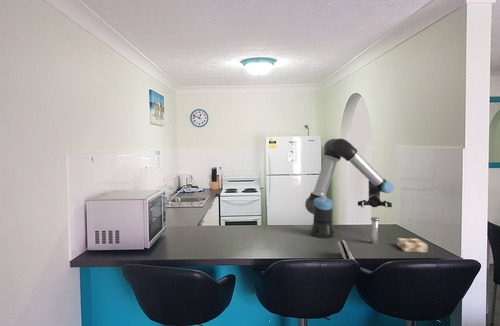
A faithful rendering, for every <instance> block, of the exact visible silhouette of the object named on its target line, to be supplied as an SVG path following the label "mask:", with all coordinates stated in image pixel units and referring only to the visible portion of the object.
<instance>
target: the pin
mask: <svg viewBox="0 0 500 326" xmlns="http://www.w3.org/2000/svg"><path fill="white" fill-rule="evenodd" d="M370 221H371V240H370V241H371V242H370V243H371V244H373V245H378V242H379V241H378V240H379V221H380V218H379V217H373V216H372V217H371V218H370Z"/></svg>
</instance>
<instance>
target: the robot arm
mask: <svg viewBox="0 0 500 326" xmlns="http://www.w3.org/2000/svg"><path fill="white" fill-rule="evenodd" d="M323 151H324V153H323V157H324V159H323V161H322V162H323V163H322V166H321V169H320V171H319V174H318V177H317V180H316V183H315V187H314V189H313V191H312V192H310V195H309V197H307V198H306V199H305V203H304V206H305V209H306V211H307V212H308V213H310V214H312V215H313V223H312V226H311V229H310V236H313V237H316V238H320V239H321V238H323V239H325V238H326V239H327V238H334V237H335V230H334V225H333V200H331V199H330V198H328V197H327V193H328V190H329V187H330V183H331V181H332V178H333V175H334V172H335V169H336V166H337V163H338V162H339V161H341V158H342V159H344V160H345V161H346V162H350V163H351V164H352V166H353V167H355V168H356V169H357V170H358V171H359V172H360V173H361V174H362V175H364V177H365V178H366V179H367V180H368V197H367V198H368V200H366V199H363V200H359V201H357V206H360V208H362V209H364V207H365V206H370V207H371V208H377V207H385V210H388V208H392V205H393V204H392V202H390V201H387V200H383V201H382V200H381V193H384V194H385V193H386V194H389V193H392V192H393V190H394V184H393V183H392V182H390V181H388V180H386V179H385V178H384V176H382V175H381V174H380V173H379V172H378V171H377V170H376V169H375V168H374V167H373V166H372V165H371V164H370V163H369V162H367V160H366V159H364V157H363V156H361V154H360V153H359V151H358V149H357V148H356V147H355V146H354V145H352V143H351V142H349V141H348V140H346V139H344V138H331V139H329V140H327V141H326V142H325V143H324V145H323Z"/></svg>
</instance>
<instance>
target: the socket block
mask: <svg viewBox="0 0 500 326" xmlns="http://www.w3.org/2000/svg"><path fill="white" fill-rule="evenodd" d="M396 246H398V248H400V249H401V250H402V251H404V252H413V253H416V252H417V253H428V251H429V245H428V244H427V242H424V241H422V240H421V239H419V238H408V237H407V238H406V237H405V238H401V237H399V238H398V237H397V238H396Z"/></svg>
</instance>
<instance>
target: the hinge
mask: <svg viewBox="0 0 500 326" xmlns="http://www.w3.org/2000/svg"><path fill="white" fill-rule="evenodd" d="M336 243H337V245H338V249H339V251H340V254H341V256H342V258H344V259H353V260H355V258H354V257H353V255H352V253H351V251H350V248H349V247H348V245H347V243H346V241H345V240H344V239H342V240H341V241H340V240H339V241H337V242H336ZM344 259H343V260H344Z"/></svg>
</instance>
